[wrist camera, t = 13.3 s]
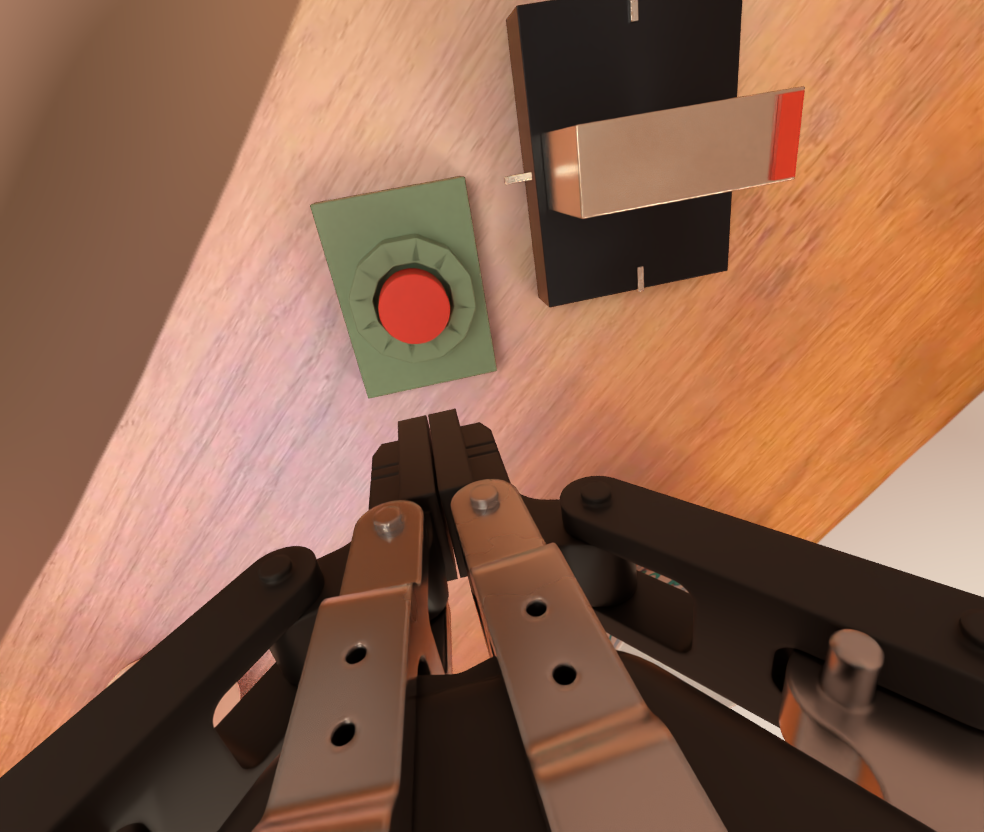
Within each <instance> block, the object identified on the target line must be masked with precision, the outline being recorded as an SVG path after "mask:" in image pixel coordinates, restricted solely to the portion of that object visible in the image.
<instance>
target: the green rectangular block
mask: <svg viewBox="0 0 984 832" xmlns="http://www.w3.org/2000/svg"><path fill="white" fill-rule="evenodd" d="M310 207H311V210H312V214H313V217H314V220H315V224H316V227H317V230H318V233H319V237H320V240H321V243H322V247H323V250H324V253H325V257H326V260H327V263H328V267H329V270H330V273H331V277H332V280H333V283H334V286H335V290H336V293H337V296H338V300H339V303H340V306H341V310H342V313H343V316H344V320H345V323H346V326H347V329H348V333H349V336H350V339H351V343H352V346H353V349H354V353H355V356H356V359H357V363H358V366H359V369H360V373H361V376H362V379H363V382H364V386H365V389H366V392H367V396H368V398H374V397H378V396H383V395H387V394H392V393H397V392H401V391H406V390H411V389H415V388H420V387H424V386H429V385H434V384H438V383H443V382H448V381H452V380H457V379H461V378H466V377H471V376H475V375H480V374H485V373H489V372H494V371H497V368H496V362H495V356H494V350H493V344H492V338H491V332H490V326H489V320H488V314H487V308H486V302H485V296H484V290H483V284H482V278H481V272H480V266H479V260H478V254H477V248H476V242H475V236H474V230H473V224H472V218H471V212H470V206H469V200H468V194H467V189H466V183H465V177H462V176H458V177H453V178H447V179H442V180H436V181H431V182H426V183H420V184H415V185H409V186H404V187H398V188H393V189H387V190H382V191H377V192H371V193H366V194H360V195H355V196H349V197H344V198H338V199H333V200H327V201H322V202H317V203H314V204H311V205H310ZM407 268H417V269H422V270H425V271H427V272H429V273H431V274H433V275H434V276H435V277H436V278H437V279H438V280H439V281H440V282H441V284H442V285H443V287H444V289H445V292H446V294H447V297H448V299H449V303H450V316H449V320H448V323H447V325H446V327H445V329H444V330H443V331H442V332H441V333H440V334H439V335H438V336H437V337H436V338H434V339H433V340H431V341H428V342H426V343H421V344H409V343H404V342H402V341H399V340H397V339H396V338H394V337H393V336H391V335H390V334H389V333H388V332H387V331H386V329H385V328H384V326H383V324H382V322H381V320H380V317H379V310H378V306H379V296H380V292H381V289H382V287H383V285H384V283H385V282H386V280H387V279H388V278H389V277H390V276H391V275H393V274H394V273H396V272H397V271H400V270H403V269H407Z"/></svg>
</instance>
